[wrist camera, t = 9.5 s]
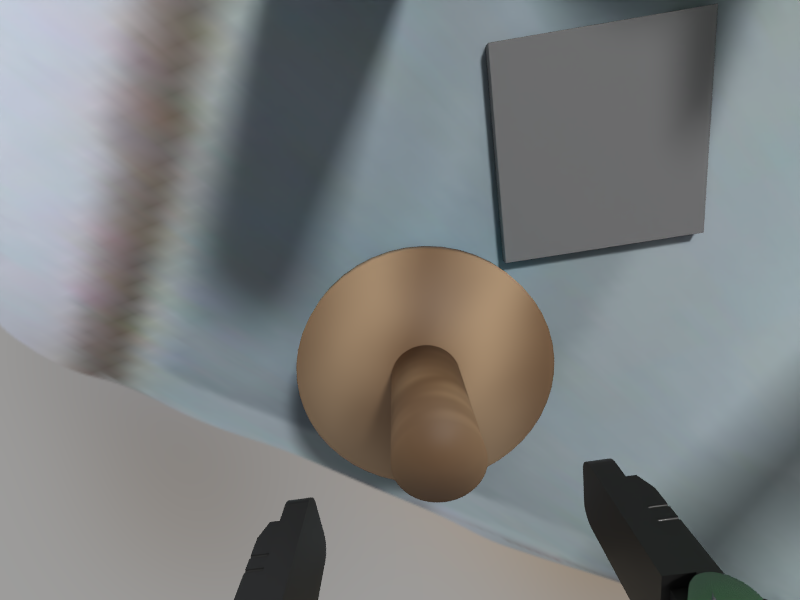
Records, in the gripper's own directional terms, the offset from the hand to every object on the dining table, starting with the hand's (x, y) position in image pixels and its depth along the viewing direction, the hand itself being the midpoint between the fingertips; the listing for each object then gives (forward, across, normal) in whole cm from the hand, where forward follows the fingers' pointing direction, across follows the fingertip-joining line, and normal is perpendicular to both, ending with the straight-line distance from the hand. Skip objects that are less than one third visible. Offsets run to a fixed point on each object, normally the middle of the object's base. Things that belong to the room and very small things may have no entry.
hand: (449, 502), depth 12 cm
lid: (+8, 0, 0) cm, 8 cm away
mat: (+14, -11, -9) cm, 20 cm away
